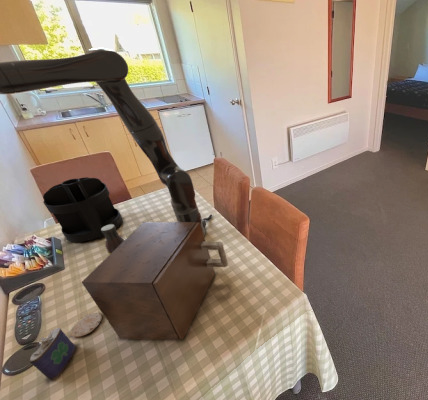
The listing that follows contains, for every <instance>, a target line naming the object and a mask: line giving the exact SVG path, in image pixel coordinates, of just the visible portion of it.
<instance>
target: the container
mask: <svg viewBox="0 0 428 400" xmlns="http://www.w3.org/2000/svg"><path fill="white" fill-rule="evenodd" d="M42 198H43V205H44V206H45V207H46V209H47V210H48V212H49V213H51V214H52V215H53V216H54V218H55V220H56V221H57V222H58V224H59V226H60V228H61V233H62V234H63V236H64V237H65V239H66V240H67V241H69V242H71V243H82V242H88V241H92V240H95V239H100V238H102V237H105V236H104V234H103V233H102V231H101V228H102V227H104V226H106V225H110V224H113V225H115V227H116V229H117V228H118V227H119V226H121V224H122V223H123V221H124V220H123V219H124V218H123V216H122V214H121V212H120V210H118V208H115V206H114V204H113V202H112V200H111V198H110V190H109V189H108V186H107V184H106V183H104V182H103V181H101V179H99V178H97V177H87V176H86V177H79V178H71V179H70V178H69V179H66V180H65V181H62V182H61V183H59V184H58V183H57V184H55V185H53V186H52V187H50V188H49V189H48V190H47V191H46V192H45V193H43V196H42Z"/></svg>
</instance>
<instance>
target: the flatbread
mask: <svg viewBox="0 0 428 400" xmlns="http://www.w3.org/2000/svg"><path fill="white" fill-rule="evenodd" d="M102 319H103V317H102V314H101V312H97V313H95V312H94V313H89V314H86V315H84V316H83V317H82V318H80V319H78V320H77V321H76V322H75V323H74V324H73V325H72V327H71V329H70V331H69V335H70V336H71V337H74V338H78V337H83V336H86V335H88V334H90V333H91V332H93V331H94V330H95V329H96V328H97V327H98V326H99V325H100V324H101V322H102Z"/></svg>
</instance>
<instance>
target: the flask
mask: <svg viewBox="0 0 428 400" xmlns="http://www.w3.org/2000/svg"><path fill="white" fill-rule="evenodd" d="M38 341H40V342H41V343H40V346H39V348H37V350H36V351H34V352H33V353H32V354H31V356H30V357H29V364H30V365H33V367H35V368H36V369H37V370H38V371H39V372H40V373H41V374H42V375H44V377H46V378H47V379H48V380H49V381H52V380H53V381H54V380H55V379H57V378H58V377H59V376H60V375H61V374H62V373H63V371H64V370H65V369H66V368H67V367H68V366H69V365H68V364H69V363H70V362H71V360H72V358H73V356H74V355H75V352H76V351H77V346H76V344H74V342H73V341H72V340H71V339H70V338H69V337H68V336H67V335H66V334H65V332H64V331H63V330H62V328H60V327H57V328H54V329H51V331H50V332H49V333H48V335H47V337H43V336H42V337H41V338H40V339H39V340H38Z"/></svg>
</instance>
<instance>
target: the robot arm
mask: <svg viewBox="0 0 428 400" xmlns="http://www.w3.org/2000/svg"><path fill="white" fill-rule="evenodd" d="M128 75H129V65H128V62H127V61H126V59H125V58H124V57H123V56H122V55H121V54H119V53H118V52H117V51H115V50H113V49H110V48H106V47H105V48H104V47H98V48H97V47H96V48H91V49H88V50H87V51H86V52H85V53H84V54H81V55H76V56H70V57H63V58H62V57H61V58H49V59H48V58H47V59H22V60H21V59H20V60H11V61H9V60H8V61H0V95H13V94H19V93H26V92H27V93H28V92H32V91H33V92H34V91H39V90H44V89H50V88H56V87H60V86H65V85H73V84H82V83H96V84H97V85H98V86H99V88H100V89H101V90H102V91H103V93H104V94H105V95H106V97H107V98H108V99H109V101H110V102H111V104H112V107H113V108H114V110H115V111H116V113H117V115H118V116H119V118H120V120H121V121H122V123H123V124H124V126H125V128H126V130H127V131H128V132H129V134H130V135H131V137H132V139H133V140H134V141H135V143H136V144H137V146H138V147H139V148H140V150H141V151H142V153H144V155H145V156H146V158H148V160H149V161H150V162H151V165H152V166H153V168H154V170H155V172H156V174H157V176H158V178H159V180H160V182H161V183H162V185H164V186H165V187H166V188H167V190H168V192H169V196H170V201H169V202H170V205H171V208H172V210H173V213H174V216H175V219H176V222H196V223H200V225H201V228H202V232H203V235H204V236H205V235H206V229H205V228H206V227H207V222H206V221H209V220H210V219H211V218H212V217H213V214H210V215H208V217H204V218H202V215H201V212H200V211H199V208H198V204H197V201H196V191H195V188H194V183H193V179H192V177H191V175H190V173H189V172H187V171H186V170H184V169H182V168H181V167H180V166H179V165H178V164H177V162H176V161H175V160H174V158H173V157H172V155H171V153H170V151H169V149H168V146H167V142H166V138H165V135H164V133H163V131H162V129H161V127H160V126H159V123H158V122H157V120H156V119H155V117H154V116H153V114H152V113H151V112H150V111H149V110H148V108H147V107H146V106H145V105H144V104H143V103H142V101H140V99H138V97H137V96H136V95H135V93H134V92H133V90H132V89H131V87H130V85H129V84H128V82H127V80H126V78H127V76H128Z"/></svg>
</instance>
